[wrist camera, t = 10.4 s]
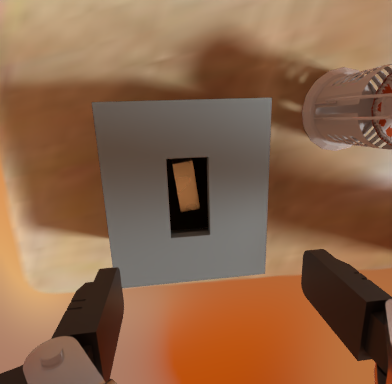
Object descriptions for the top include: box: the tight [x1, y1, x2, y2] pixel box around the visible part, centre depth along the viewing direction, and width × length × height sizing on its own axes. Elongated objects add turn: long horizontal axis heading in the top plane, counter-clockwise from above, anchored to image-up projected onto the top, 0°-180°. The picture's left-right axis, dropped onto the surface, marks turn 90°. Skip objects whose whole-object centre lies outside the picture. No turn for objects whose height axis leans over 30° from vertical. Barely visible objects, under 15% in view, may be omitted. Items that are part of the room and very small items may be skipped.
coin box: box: [92, 98, 272, 288], centre depth 27 cm, size 14×16×10 cm
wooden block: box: [171, 158, 200, 212], centre depth 29 cm, size 2×5×6 cm, turn 9°
